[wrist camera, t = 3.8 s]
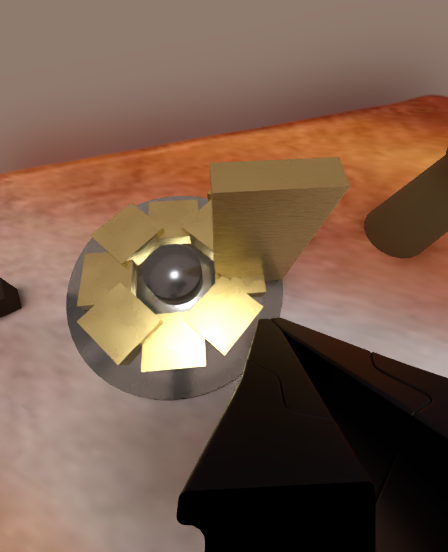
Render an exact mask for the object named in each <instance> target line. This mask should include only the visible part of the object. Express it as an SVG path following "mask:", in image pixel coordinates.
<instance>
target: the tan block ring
mask: <svg viewBox="0 0 448 552" xmlns="http://www.w3.org/2000/svg"><path fill="white" fill-rule="evenodd" d="M210 185H211V200H210V201H209V202H208V203H207V204H205V205H204V206H203V207H202V208H201V209H200V210H199V208H198V200H197V199H194V200H175V201H156V202H149V214H148V215H146V214H145V213H144V212H143V211H141V210H140V209H139V208H138V207H136V206H135V205H134V204H132V203H131V204H129V205H128V206H127V207H126V208H124V209H123V210H122V211H121V212H119V213H118V214H117V215H116V216H114V217H113V218H112V219H110V220H109V221H108V222H107V223H105V224H104V225H103V226H102V227H100V228H99V229H98V230H97V231H95V232H94V233H93V234H91V235H90V236H91V237H92V238H93V239H94V240H95V241H96V242H97V243H98V244H99V245H100V246H101V247H102V248H103V249H104V250H105V251H106V252H105V253H89V254H85V258H84V264H83V271H82V277H81V283H80V289H79V295H78V301H77V306H78V307H80V308H82V309H85V310H89V311H88V312H87V313H86V314H84V315H83V316H82V317H81V318H80V319H79V320H78V321H77V323H78V324H79V325H80V326H81V327H82V328H83V329H84V330H85V331H86V332H87V333H88V334H89V335H90V336H91V337H92V338H93V339H94V340H95V342H96V343H97V344H98V345H99V346H100V347H101V348H102V349H103V350H104V351H105V352H106V353H107V354H108V355H109V356H110V357H111V358H112V359H113V360H114V362H115V363H116V364H117V365H129V364H130V363H131V362H132V361H133V360H134V359H135V358H136V357H137V356H138V355H139V354H140V353H141V351H142V359H141V372H149V371H160V370H171V369H181V368H192V367H203V366H207V358H206V341H207V342H208V343H209V344H210V345H211V346H213V347H214V348H215V349H216V350H217V351H218V352H219V353H220V354H221V355H223V356H225V355H226V354H227V353H228V351H229V350H230V349H231V347H232V346H233V345H234V344H235V342H236V341H237V340H238V339H239V337H240V336H241V335H242V334H243V332H244V331H245V330H246V329H247V327H248V326H249V325H250V324H251V322H252V321H253V320H254V319H255V317H256V316H257V315H258V314H259V312H260V311H261V310H262V308H263V306H262V305H260V304H259V303H258V302H257V301H255V300H254V299H253V298H251V297H263V296H264V295H265V293H266V287H265V281H267V280H281V279H283V278H284V276H285V275H286V273H287V272H288V271H289V269H290V268H291V267H292V265H293V264H294V262H295V261H296V260H297V258H298V257H299V256H300V254H301V253H302V251H303V250H304V249H305V247H306V246H307V245H308V243H309V242H310V240H311V239H312V238H313V236H314V235H315V233H316V232H317V231H318V229H319V228H320V227H321V225H322V224H323V222H324V221H325V220H326V218H327V217H328V216H329V214H330V213H331V211H332V210H333V209H334V207H335V206H336V205H337V203H338V202H339V200H340V199H341V198H342V196H343V195H344V194H345V192H346V191H347V189H348V188H349V187H350V185H349V182H348V180H347V177H346V174H345V172H344V169H343V166H342V164H341V161H340V158H339V157H334V158H311V159H289V160H266V161H243V162H220V163H210ZM190 243H191V244H193V245H194V246H195V247H196V248H198V249H199V250H200V251H202V252H203V253H204V254H205V255H207V256H208V257H209V258H210V259H212V260H213V261H214V272H215V284H214V285H213V286H212V287H211V288H210V289H209V290H208V292H207V293H206V294H205V295H204V296H203V297H202V298H201V299H200V300H199V301H198V302H197V303H196V305H195V306H194V307H193V308H192V309H191V310H190V311H189V312H177V313H164V314H155V313H154V312H153V311H151V310H150V309H149V308H148V307H147V306H146V305H145V304H144V303H143V302H142V301H141V300H140V299H138V298H137V297H136V289H137V273H138V266H139V265H140V264H141V263H142V262H143V261H144V260H145V259H146V258H147V257H148V256H149V255H150V254H151V253H152V252H153V251H154V250H156V249H157V248H158V247H159V246H161V245H168V244H190Z"/></svg>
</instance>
